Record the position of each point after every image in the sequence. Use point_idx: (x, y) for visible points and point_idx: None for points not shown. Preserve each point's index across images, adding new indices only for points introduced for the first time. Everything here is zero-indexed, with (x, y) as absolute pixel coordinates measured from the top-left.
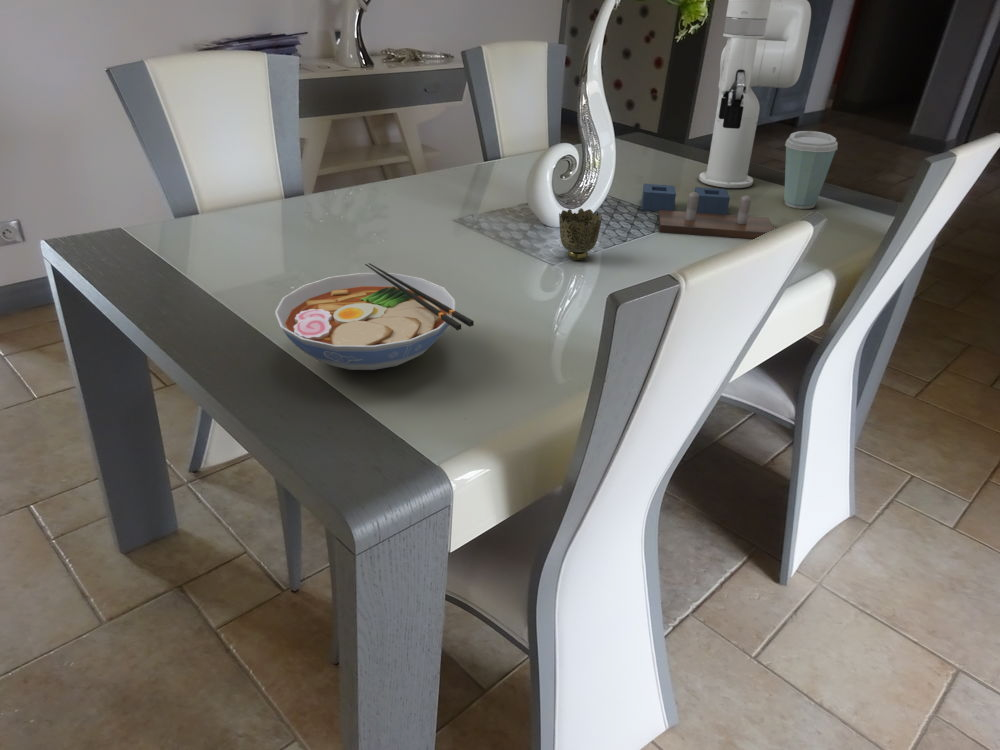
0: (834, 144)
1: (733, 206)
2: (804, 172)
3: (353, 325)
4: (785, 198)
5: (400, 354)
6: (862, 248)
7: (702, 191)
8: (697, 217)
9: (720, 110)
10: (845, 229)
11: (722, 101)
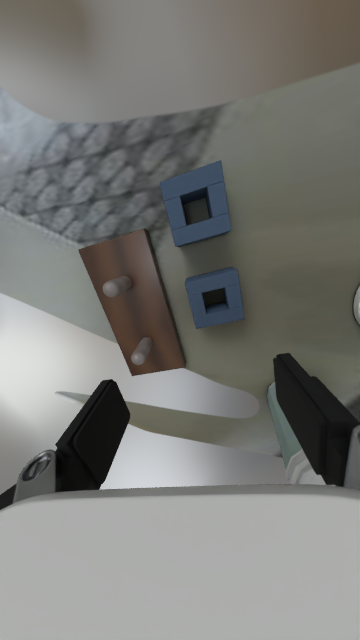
0: None
1: (249, 321)
2: (278, 429)
3: None
4: None
5: None
6: (156, 430)
7: (212, 286)
8: (138, 290)
9: (293, 373)
10: (206, 424)
11: (311, 410)
